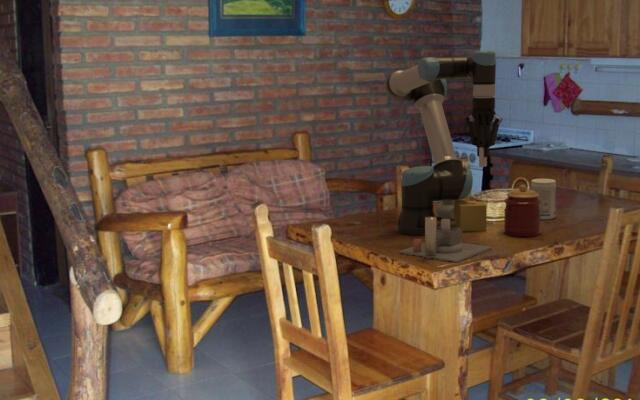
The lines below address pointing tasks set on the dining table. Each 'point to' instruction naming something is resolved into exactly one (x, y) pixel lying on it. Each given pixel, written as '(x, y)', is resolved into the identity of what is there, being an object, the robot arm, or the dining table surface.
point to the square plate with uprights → (447, 248)
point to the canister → (522, 212)
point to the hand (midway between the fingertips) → (482, 166)
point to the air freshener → (446, 210)
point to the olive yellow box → (470, 215)
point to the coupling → (439, 236)
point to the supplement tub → (546, 196)
